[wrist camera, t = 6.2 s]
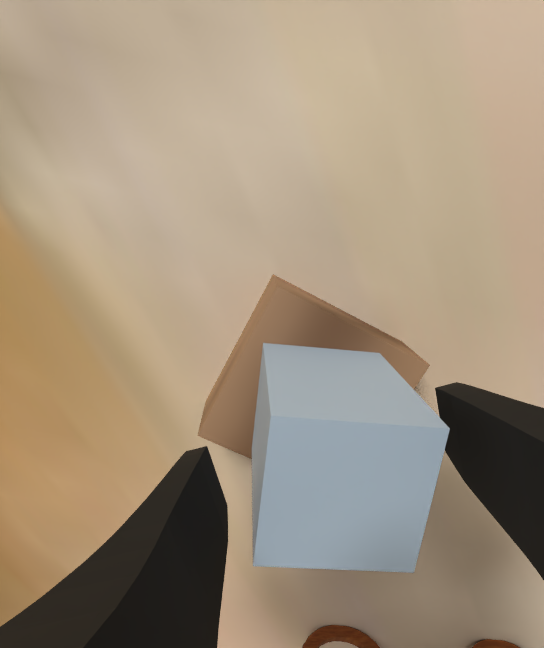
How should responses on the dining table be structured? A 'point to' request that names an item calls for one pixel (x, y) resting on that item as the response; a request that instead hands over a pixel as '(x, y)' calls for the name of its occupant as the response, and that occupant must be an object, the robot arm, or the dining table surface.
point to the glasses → (366, 643)
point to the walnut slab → (298, 330)
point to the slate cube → (340, 462)
